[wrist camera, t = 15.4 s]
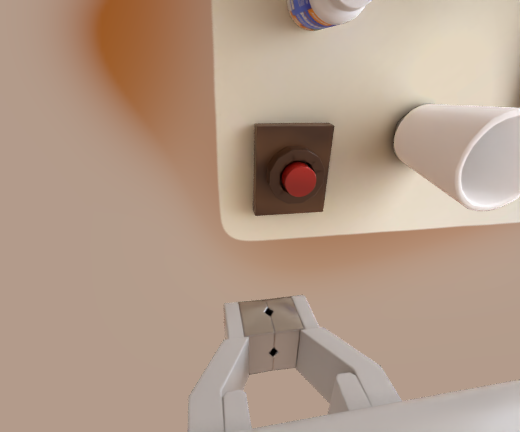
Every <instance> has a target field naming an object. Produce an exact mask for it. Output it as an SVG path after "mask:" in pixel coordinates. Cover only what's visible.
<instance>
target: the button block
mask: <svg viewBox="0 0 520 432" xmlns="http://www.w3.org/2000/svg"><path fill="white" fill-rule="evenodd" d="M333 131H334V125H332V124H330V123H267V124H255V132H254V191H253V211H254V213H255V216H260V215H276V214H293V213H309V212H323V207H324V200H325V192H326V184H327V177H328V169H329V162H330V154H331V147H332V139H333ZM294 162H302V163H305V164H306V165H308V166H309V167H310V168H311V169H312V170H313V171H314V173H315V175H316V184H315V187H314V189H313V190H312V191H311V192H310V193H309V194H307V195H305V196H302V197H295V196H292V195H291V194H289V193H288V191H287V190H286V189H285V187H284V186H283V184H282V180H281V177H282V173H283V171H284V169H285V168H286V167H287V166H288V165H290V164H291V163H294Z"/></svg>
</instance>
